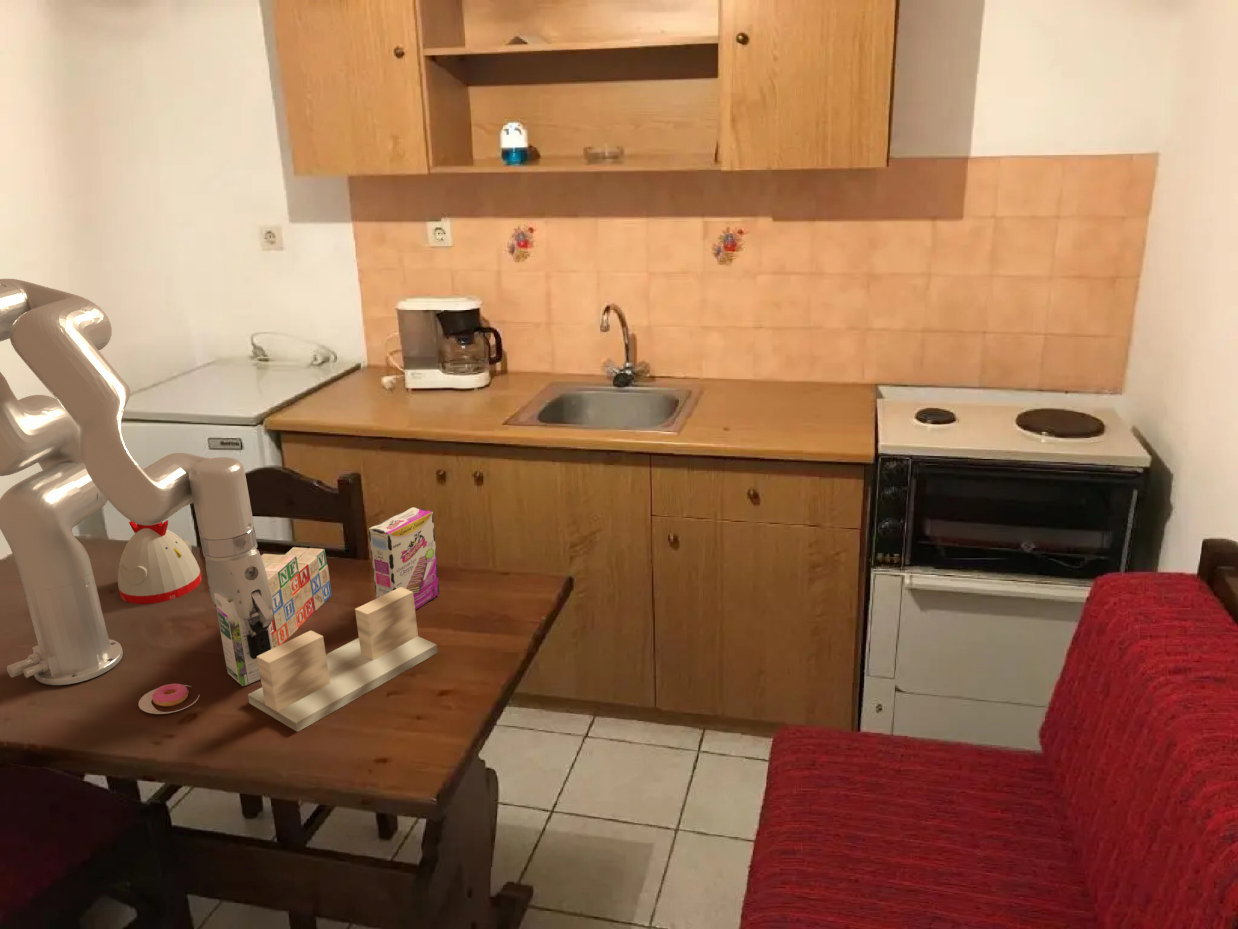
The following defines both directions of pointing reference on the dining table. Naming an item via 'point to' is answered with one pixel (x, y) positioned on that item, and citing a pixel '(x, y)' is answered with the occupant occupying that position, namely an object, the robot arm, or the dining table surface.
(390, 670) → the slotted board
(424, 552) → the candy bar box
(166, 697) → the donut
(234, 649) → the syrup box
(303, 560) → the stack of blocks
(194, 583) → the kitchen timer
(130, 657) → the dining table surface
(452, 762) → the dining table surface
